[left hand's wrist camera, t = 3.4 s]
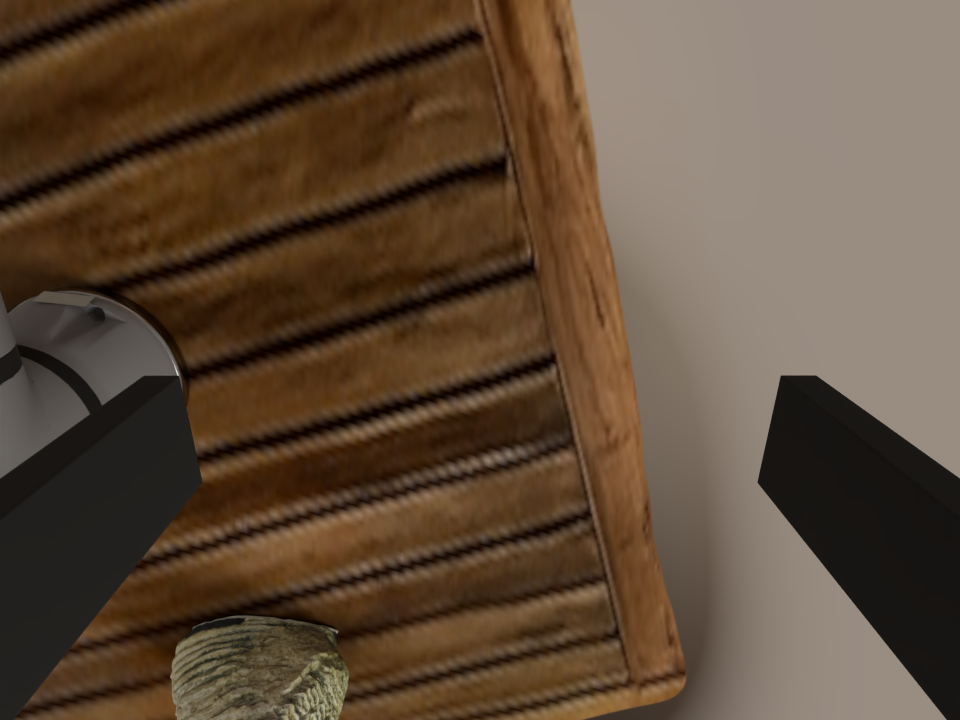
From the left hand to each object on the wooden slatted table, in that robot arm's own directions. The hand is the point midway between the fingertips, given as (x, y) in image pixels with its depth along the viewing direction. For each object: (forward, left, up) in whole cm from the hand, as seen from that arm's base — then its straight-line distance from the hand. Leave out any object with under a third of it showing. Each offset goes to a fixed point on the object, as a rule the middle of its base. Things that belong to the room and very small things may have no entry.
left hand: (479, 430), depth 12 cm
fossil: (-36, -34, -34) cm, 61 cm away
